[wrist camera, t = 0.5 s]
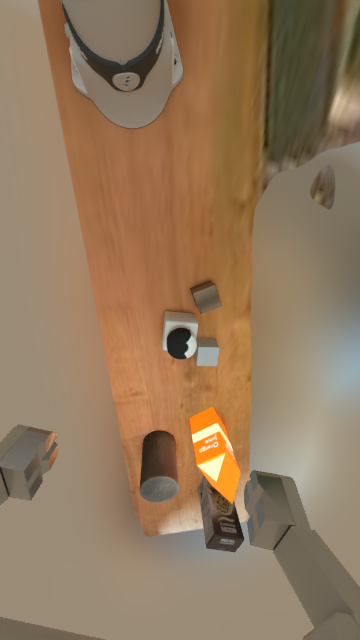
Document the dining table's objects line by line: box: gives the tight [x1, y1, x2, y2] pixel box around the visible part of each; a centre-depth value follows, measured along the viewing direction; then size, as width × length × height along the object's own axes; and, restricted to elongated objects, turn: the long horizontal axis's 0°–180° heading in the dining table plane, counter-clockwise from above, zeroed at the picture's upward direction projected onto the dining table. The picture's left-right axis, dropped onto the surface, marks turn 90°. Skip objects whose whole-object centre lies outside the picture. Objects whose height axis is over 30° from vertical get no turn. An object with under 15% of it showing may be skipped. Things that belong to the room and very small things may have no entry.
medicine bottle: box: [162, 311, 198, 359], centre depth 51 cm, size 7×7×12 cm
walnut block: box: [190, 281, 222, 314], centre depth 52 cm, size 5×5×5 cm
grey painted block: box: [194, 338, 219, 366], centre depth 57 cm, size 5×5×5 cm
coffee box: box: [198, 477, 244, 552], centre depth 70 cm, size 9×6×16 cm
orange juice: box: [190, 407, 240, 504], centre depth 58 cm, size 8×9×20 cm
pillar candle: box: [140, 431, 179, 502], centre depth 62 cm, size 10×10×15 cm
